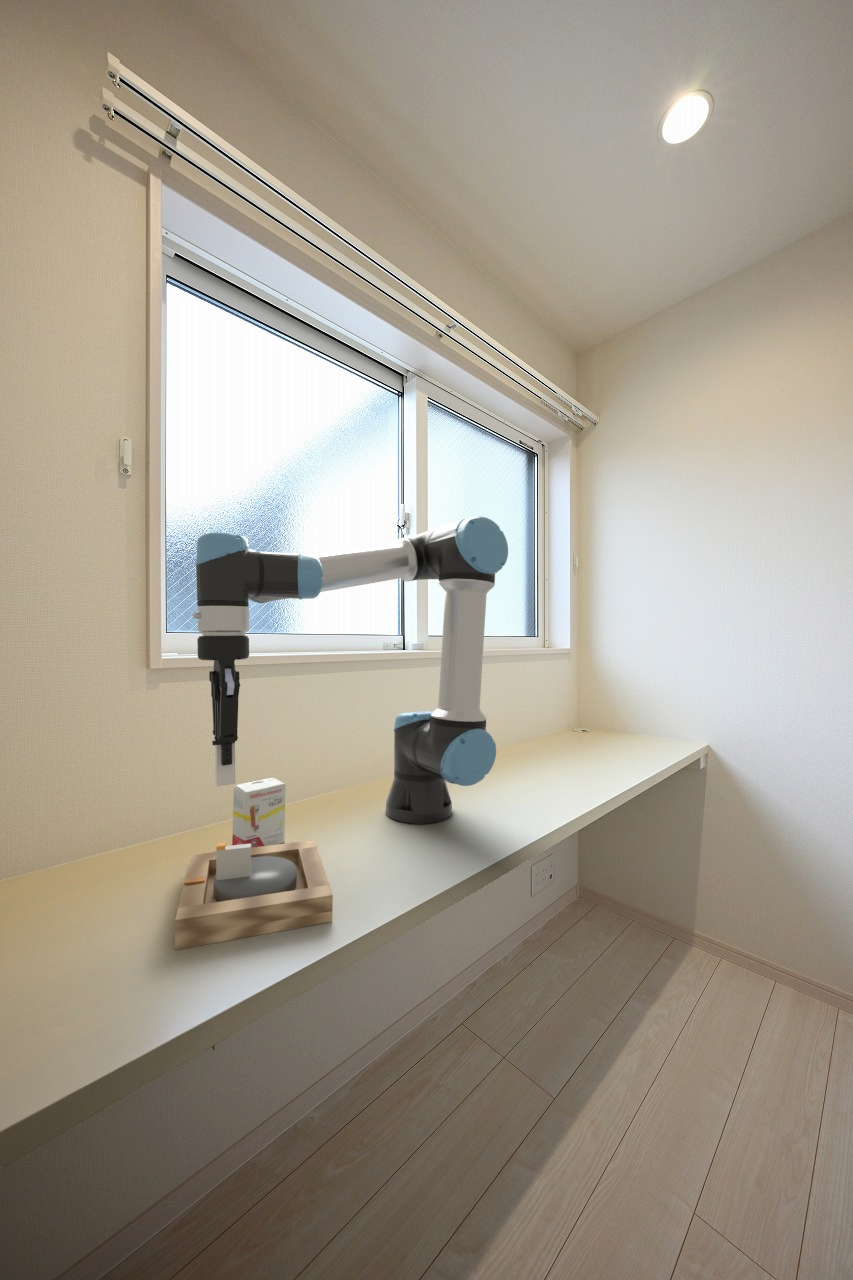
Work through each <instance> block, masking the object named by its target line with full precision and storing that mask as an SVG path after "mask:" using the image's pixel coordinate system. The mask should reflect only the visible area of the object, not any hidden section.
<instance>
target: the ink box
mask: <svg viewBox="0 0 853 1280" xmlns="http://www.w3.org/2000/svg"><path fill="white" fill-rule="evenodd" d="M232 802H233V804H232V805H233V806H232V807H233V808H232V811H233V812H232V838H231V839H232V840H231V841H232V842H231V843H232V844H231V845H241V844H251V848H253V847H261V846H269V845H277V844H285V838H286V836H285V835H286V783H285V782H283V781H280V780H279V779H277V778H275V777H270V778H268V777H267V778H263V779H259V780H254V781H249V782H243V783H238V784H236V785H235V786H233V801H232Z"/></svg>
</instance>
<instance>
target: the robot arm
mask: <svg viewBox="0 0 853 1280" xmlns="http://www.w3.org/2000/svg"><path fill="white" fill-rule="evenodd" d="M508 557H509V545H508V541H507V537H506V535H505V533H504V531H502V530H501V528H500V526H499V525H498V524H497V523H496V522H495V521H494V520H492V519H490V518H488V517H485V516H474V517H466V518H462V519H461V520H458V521H455V522H451V523H448V524H444V525H442V526H438V527H435V528H432V529H430V530H428V531H424V532H422V533H419V534H416V535H413V536H407V537H402V538H398V539H397V540H396V541H395V543H391V544H390V543H389V544H384V545H376V546H375V545H374V546H370V547H369V546H368V547H362V548H355V549H348V550H347V549H345V550H339V551H333V552H332V551H331V552H324V553H319V554H318V553H316V554H309V555H308V554H303V553H300V552H299V553H292V552H291V553H290V552H289V553H288V552H275V551H272V552H271V551H259V550H254V549H250V546H249V541H248V539H247V538H246V537H245V536H242V535H240V534H234V533H230V532H229V533H228V532H226V533H225V532H209V533H205V534H202V535H201V536H200V537H198V538H197V543H196V561H195V571H196V574H195V575H196V601H197V602H196V604H197V609H196V610H197V612H193V613H192V618H193V619H195V620H197V631H198V632H199V633H201V635H200V636H198V637H197V639H196V640H197V641H196V642H197V643H196V644H197V659H199V660H201V661H213V670H212V671H211V670H210V671H209V673H208V676H209V679H208V680H209V682H210V696H211V707H212V708H211V709H212V724H213V725H212V729H213V730H212V735H213V736H214V740H212V741H211V742H212V743H211V744H212V746H214V749H215V750H214V751H215V752H214V753H215V754H214V755H215V761H214V763H215V785H216V787H221V786H230V785H235V784H236V742H237V741H238V738H239V737H238V736H239V735H238V725H239V724H238V723H239V722H238V721H239V694H240V687H241V683H240V671H237V670H236V663H235V661H237V660H238V661H239V660H247V659H248V658H249V657H250V637H249V636H248V635H246V633H247V632H249V631H250V606H249V600H250V601H251V602H254V603H257V604H265V603H269V602H273V601H280V600H286V599H287V600H288V599H293V600H294V599H296V600H297V599H298V600H305V599H308V600H309V599H316V598H317V597H318V596H319V595H320V593H322V592H323V593H324V592H329V591H335V590H341V589H345V588H352V587H357V586H362V585H363V586H364V585H369V584H375V583H381V582H387V581H392V580H398V579H401V581H403V582H412V581H420V580H438V584H439V585H440V587H441V588H442V589H443V590H444V595H445V596H444V606H443V608H444V611H443V622H442V623H443V625H442V641H441V656H440V658H441V659H440V671H439V672H440V673H439V674H440V675H439V684H438V685H439V686H438V687H439V690H438V702H437V703H438V704H437V707H436V708H435V709H434V710H426V711H425V710H424V711H409V712H402V713H399V714H397V715H396V716H395V719H394V728H393V732H394V739H393V740H394V742H393V743H394V744H393V745H394V747H393V748H394V749H393V750H394V753H393V754H394V758H393V759H394V760H393V771H394V772H393V781H392V784H391V785H390V786H391V787H390V790H389V792H388V795H387V798H386V800H385V801H386V803H385V813H386V815H387V817H389V818H391V819H392V820H395V821H397V822H400V823H409V824H419V825H420V824H432V823H439V822H442V821H444V820H446V819H448V818H450V817H451V816H452V814H453V804H452V803H453V802H452V799H451V795H450V792H449V789H448V786H447V782H448V783H449V784H453V785H458V786H462V787H471V786H474V785H476V784H478V783H480V782H481V781H482V780H484V778H485V777H486V776H487V775H488V774H490V772H491V770H492V768H493V767H494V765H495V760H496V757H497V746H496V741H495V740H494V739H493V736H492V735H491V734H490V733H489V732H488V731H487V717H486V715H485V714H484V713H483V712H482V710H481V695H482V693H481V691H482V677H483V676H482V675H483V659H484V646H485V645H484V643H485V642H484V641H485V625H486V610H487V595H488V593H489V592H490V591H491V590H492V589H493V588H495V585H496V583H495V582H496V574H497V573H499V571H501V570H502V569H503V566H506V563H507V560H508Z"/></svg>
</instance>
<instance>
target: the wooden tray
mask: <svg viewBox="0 0 853 1280" xmlns="http://www.w3.org/2000/svg"><path fill="white" fill-rule="evenodd" d="M261 856H273V857H281V858H285V859H288V860H290V861H291V862H293V863H294V864H295V865H296V868H297V882H296V887H295V888H294V890H293V891H286V892H280V893H273V894H267V895H260V896H254V897H247V898H241V899H234V900H228V901H221V902H218V901H217V900H216V899H215V898H214V895H213V887H214V877H215V875H216V851H214V852H212V851H211V852H204V853H196V854H190V857H189V861H188V864H187V868H186V873H185V877H184V881H183V882H184V883H183V886H182V889H181V890H182V891H181V894H180V898H179V902H178V903H179V904H178V907H177V911H176V915H175V920H174V951H176V950H183V949H186V948H188V949H189V948H193V947H199V946H204V945H209V944H214V943H215V944H216V943H220V942H221V943H222V942H227V941H232V940H237V939H244V938H248V937H254V936H259V935H260V936H261V935H265V934H271V933H272V934H273V933H276V932H282V931H288V930H289V931H290V930H293V929H295V930H296V929H298V928H306V927H310V926H317V925H321V924H328V923H332V922H333V913H334V912H333V910H334V909H333V906H334V905H333V901H334V898H333V897H334V896H333V892H332V888H331V885H330V882H329V880H328V879H329V878H328V877H327V874H326V872H325V871H326V870H325V868H324V865H323V862H322V860H321V859H322V858H321V856H320V853H319V851H318V848H317V844H316V842H315V839H312V840H305V841H302V840H301V841H295V842H287V843H281V844H277V845H269V846H261V847H253V848H251V858H252V857H261Z"/></svg>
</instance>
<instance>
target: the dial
mask: <svg viewBox="0 0 853 1280" xmlns="http://www.w3.org/2000/svg"><path fill="white" fill-rule="evenodd" d="M215 852H216V875H215V877H214V887H213V895H214V898H215V899H216V900H217V901H218V902H221V901H228V900H234V899H241V898H247V897H254V896H260V895H267V894H273V893H280V892H286V891H293V890H294V888H295V887H296V882H297V868H296V865H295V864H294V863H293V862H291V861H290V860H288V859H285V858H281V857H273V856H261V857H252V858H251V844H241V845H232V844H231V845H227V842H226V841H223V842H217V843H216V851H215Z"/></svg>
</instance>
